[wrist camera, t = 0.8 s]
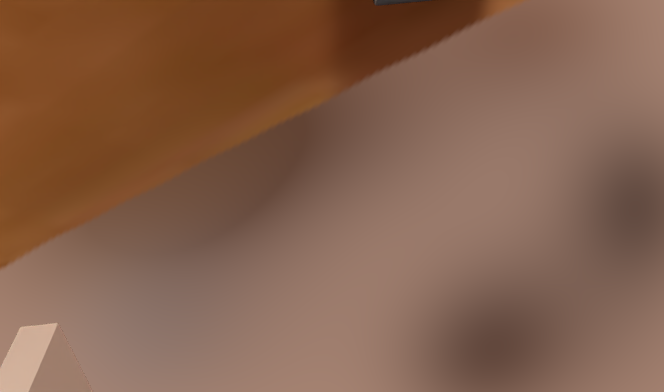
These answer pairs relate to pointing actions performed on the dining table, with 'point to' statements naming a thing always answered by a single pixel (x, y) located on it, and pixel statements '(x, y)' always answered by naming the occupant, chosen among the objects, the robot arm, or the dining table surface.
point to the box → (394, 1)
